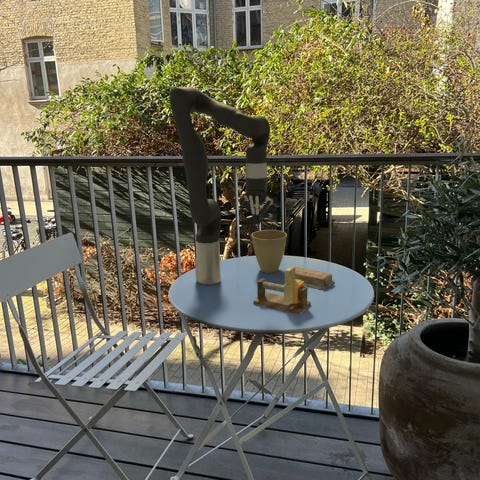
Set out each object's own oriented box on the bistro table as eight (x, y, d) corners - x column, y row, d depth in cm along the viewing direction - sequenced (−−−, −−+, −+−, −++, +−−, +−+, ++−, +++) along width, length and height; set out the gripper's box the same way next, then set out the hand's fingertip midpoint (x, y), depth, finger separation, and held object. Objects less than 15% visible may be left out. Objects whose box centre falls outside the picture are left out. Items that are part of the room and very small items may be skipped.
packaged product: (335, 271, 178) (324, 279, 171) (335, 283, 180) (323, 291, 172) (295, 263, 189) (283, 270, 181) (295, 274, 190) (283, 281, 183)
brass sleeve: (283, 301, 156) (284, 270, 153) (292, 295, 161) (292, 265, 158) (293, 303, 154) (293, 272, 151) (301, 297, 159) (301, 267, 156)
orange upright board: (293, 302, 154) (293, 286, 152) (300, 296, 159) (301, 280, 157) (296, 303, 153) (296, 287, 152) (304, 297, 158) (304, 281, 157)
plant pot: (245, 268, 198) (245, 232, 194) (275, 262, 204) (275, 228, 200) (262, 278, 185) (262, 241, 181) (293, 272, 192) (293, 235, 187)
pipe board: (253, 303, 162) (253, 283, 159) (265, 295, 169) (265, 275, 167) (299, 314, 152) (299, 293, 150) (310, 304, 159) (310, 284, 157)
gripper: (278, 175, 157) (278, 224, 162) (246, 173, 164) (246, 220, 169) (267, 178, 151) (268, 228, 156) (234, 176, 158) (236, 224, 163)
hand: (257, 224), depth 162 cm, fingers closed
